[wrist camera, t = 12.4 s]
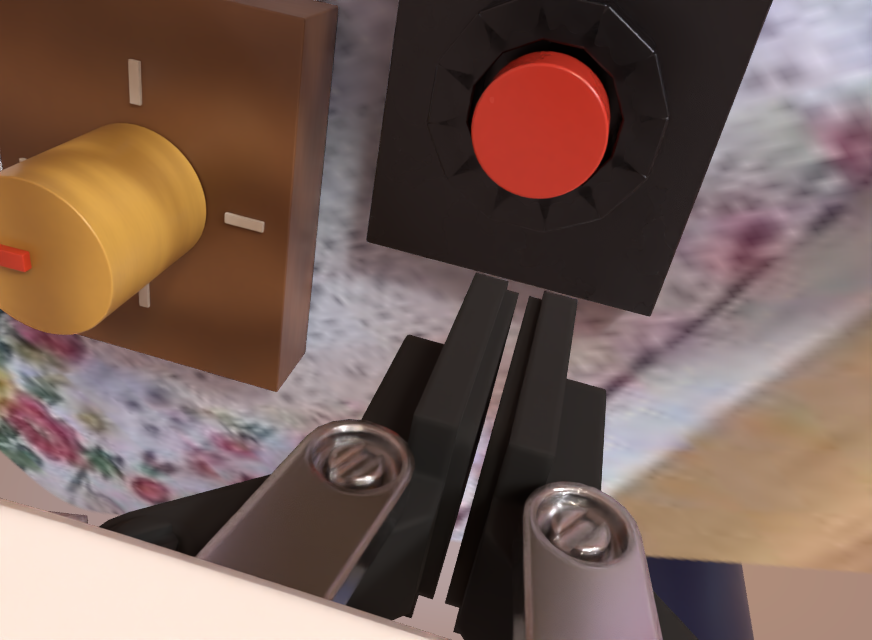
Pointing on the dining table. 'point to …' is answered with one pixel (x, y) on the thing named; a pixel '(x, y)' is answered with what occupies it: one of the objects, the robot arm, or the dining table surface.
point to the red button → (541, 125)
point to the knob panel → (194, 154)
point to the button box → (623, 159)
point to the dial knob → (93, 225)
